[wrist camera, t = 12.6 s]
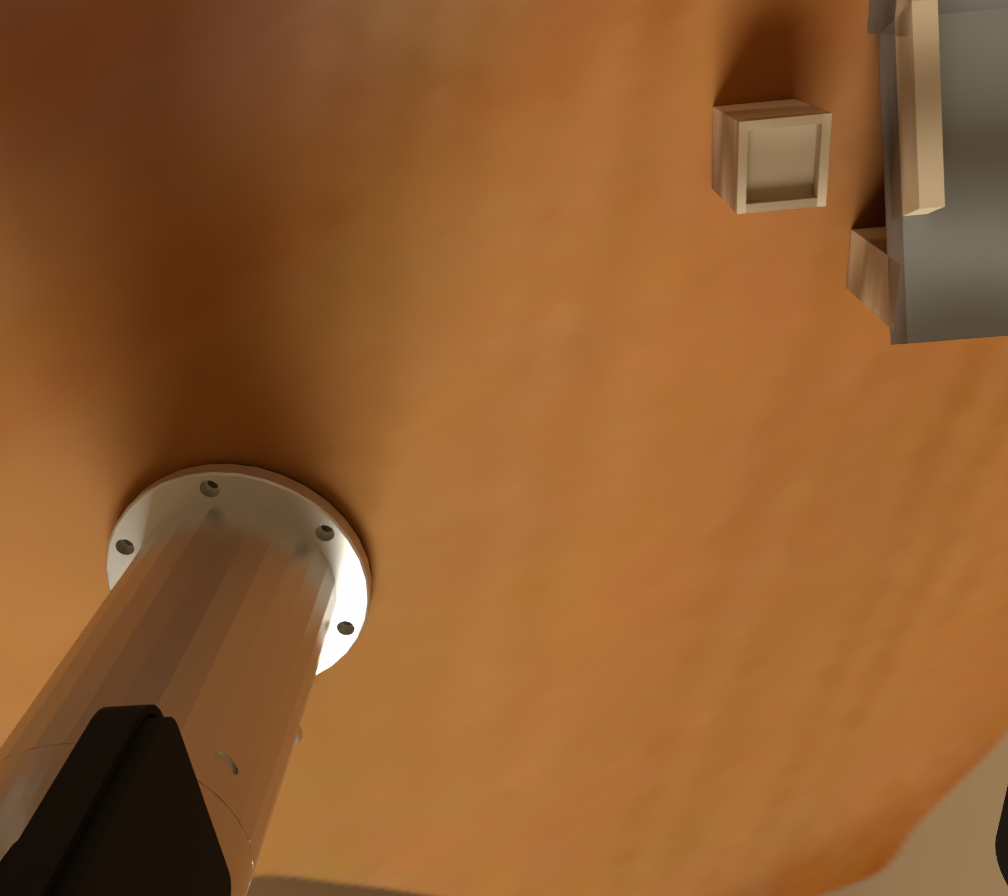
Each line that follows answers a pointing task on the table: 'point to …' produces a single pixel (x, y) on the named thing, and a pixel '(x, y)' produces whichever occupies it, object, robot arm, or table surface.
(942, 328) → the lane
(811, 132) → the open wooden cubby
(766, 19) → the table surface
